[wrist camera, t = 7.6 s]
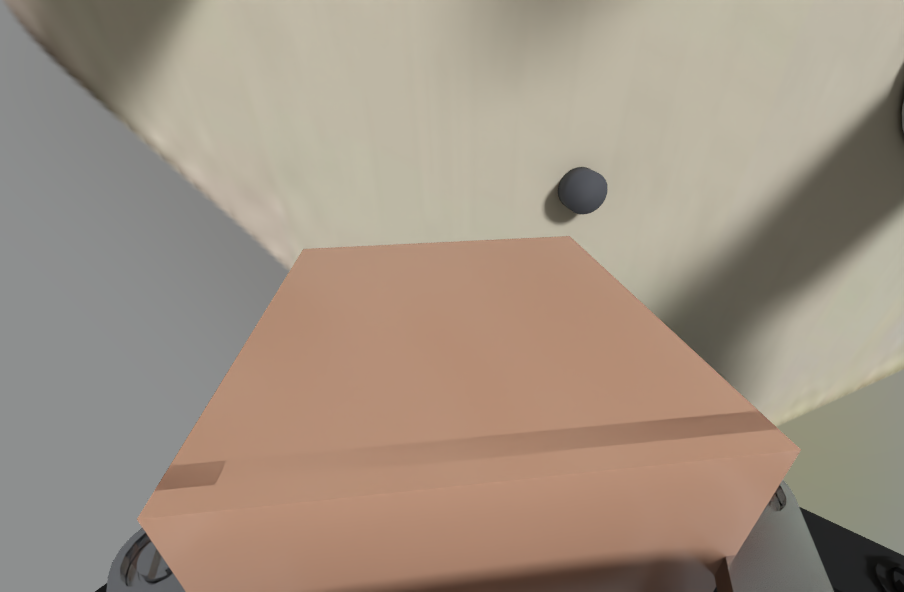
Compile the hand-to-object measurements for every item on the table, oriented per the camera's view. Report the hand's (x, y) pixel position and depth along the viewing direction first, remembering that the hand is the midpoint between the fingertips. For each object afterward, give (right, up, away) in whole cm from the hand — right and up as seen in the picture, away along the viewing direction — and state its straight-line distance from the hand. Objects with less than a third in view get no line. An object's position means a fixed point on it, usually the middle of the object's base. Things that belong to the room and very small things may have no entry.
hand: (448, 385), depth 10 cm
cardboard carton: (0, +1, +1) cm, 2 cm away
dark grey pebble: (+9, +10, +16) cm, 21 cm away
